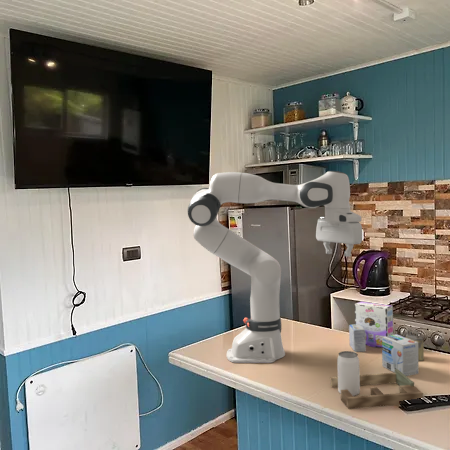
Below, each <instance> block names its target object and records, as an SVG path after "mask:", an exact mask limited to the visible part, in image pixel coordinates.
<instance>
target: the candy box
mask: <svg viewBox="0 0 450 450" xmlns="http://www.w3.org/2000/svg"><path fill="white" fill-rule="evenodd" d="M393 307H394V306H393V305H390V304H389V305H388V304H382V303H376V302H375V303H374V302H368V301H363V300H362V301H359V302H357V303H354V323H355V324H360V325H361V326H362V327H363V328H364V329H365V341H366V347H373V348H377V349H381V350H382V337H385V336H390V335H394V310H393V309H394V308H393Z"/></svg>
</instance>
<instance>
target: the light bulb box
mask: <svg viewBox="0 0 450 450" xmlns="http://www.w3.org/2000/svg"><path fill="white" fill-rule="evenodd" d="M381 351H382V353H381V355H382V356H381V358H382V359H381V360H382V362H381V363H382V367H383V368H384V369H387V370H389V371H391V373H394V372H395V369H398V370H399V371H400V372H402V373H403V374H404V375H405V376H407V377H409V376H413V375H418V374H419V361H418V342H416V341H413V340H410V339H408V338H406V336H402V335H400V334H393V335H390V336H385V337H382V349H381Z"/></svg>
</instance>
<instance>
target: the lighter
mask: <svg viewBox="0 0 450 450" xmlns="http://www.w3.org/2000/svg"><path fill="white" fill-rule="evenodd" d="M421 334H422V333H421V332H419V331H418V330H416V329H415V330H412V329H407V330H406V334H405V338H408V339H410V340H413V341H416V342H418V362H419V361H420V362H421V361H422V362H423V361H424V360H425V357H424V356H425V354H424V350H425V349H424V347H425V346H424V345H425V344H424V337H422V336H420V335H421Z"/></svg>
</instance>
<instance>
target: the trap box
mask: <svg viewBox="0 0 450 450" xmlns="http://www.w3.org/2000/svg"><path fill="white" fill-rule="evenodd" d="M329 379H330V387H331V388H338V375H337V376H330V378H329ZM386 384H397V385H398V386H399V392H396V393H386V394H385V393H384V392H382V391H381V390H380V389H379V387H375V386H374V387H369V388H370V395H357V396H352V394H351V393H350V392H349V391H348V390H347V389H346V390H341V394H340V401H341V402H342V403H343V405H344V406H345V407H346V408H347V410H350V409H351V410H352V409H365V408H376V407H391V406H392V407H393V406H400V405H399V401H403V400H411V399H417V398H423V399H424V397H423V394H424V393H423V392H422V391H421V390H420V389H419V388H417V387H416V386H415V382H414V381H413V380H412V379H410V378H409V376H405V375H404V374H403V373H402V372H400V371H399V370H398V369H395V372H384V373H383V372H382V373H368V374H360V386H369V385H370V386H372V385H386Z"/></svg>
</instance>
